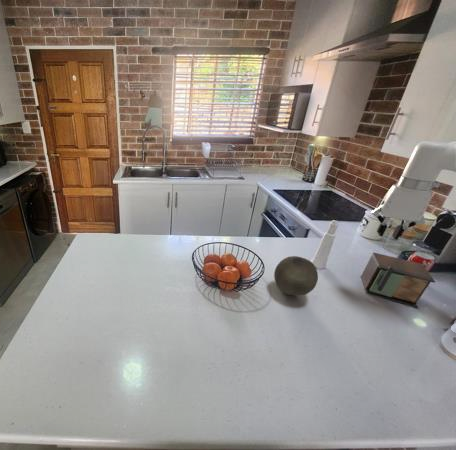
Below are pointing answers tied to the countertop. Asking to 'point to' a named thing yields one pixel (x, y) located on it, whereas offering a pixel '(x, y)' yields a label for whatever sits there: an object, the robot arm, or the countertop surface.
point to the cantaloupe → (296, 276)
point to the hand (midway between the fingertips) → (387, 235)
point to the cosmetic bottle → (325, 246)
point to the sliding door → (386, 282)
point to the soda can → (422, 259)
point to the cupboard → (411, 283)
